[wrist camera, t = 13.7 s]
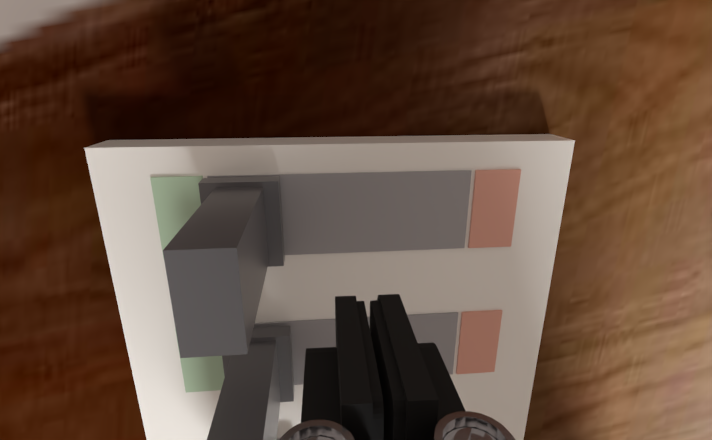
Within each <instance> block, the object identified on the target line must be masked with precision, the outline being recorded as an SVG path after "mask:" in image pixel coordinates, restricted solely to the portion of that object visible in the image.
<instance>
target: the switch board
mask: <svg viewBox="0 0 712 440" xmlns="http://www.w3.org/2000/svg"><path fill="white" fill-rule="evenodd" d="M574 143H575V140H571V139H568V138H564V137H560V136H556V135H552V134H509V135H436V136H364V137H291V138H218V139H145V140H106V141H103V142H101V143H98V144H95V145H92V146H89V147H86V148H84V149H85V153H86V158H87V163H88V167H89V172H90V177H91V181H92V186H93V191H94V195H95V200H96V205H97V209H98V214H99V219H100V223H101V228H102V233H103V238H104V242H105V247H106V252H107V256H108V261H109V266H110V270H111V275H112V280H113V284H114V289H115V294H116V298H117V303H118V308H119V312H120V317H121V322H122V326H123V331H124V336H125V341H126V345H127V350H128V355H129V359H130V364H131V369H132V373H133V378H134V383H135V387H136V392H137V397H138V401H139V406H140V411H141V415H142V420H143V425H144V430H145V434H146V439H147V440H207V437H208V434H209V430H210V427H211V423H212V420H213V416H214V413H215V409H216V406H217V402H218V399H219V395H220V392H221V388H222V385H223V381H224V378H225V376H224V368H223V360H222V356H208V357H192V358H180V352H179V346H178V340H177V334H176V328H175V322H174V316H173V310H172V304H171V298H170V292H169V286H168V280H167V274H166V268H165V262H164V256H163V250H164V248H165V247H166V246H167V245H168V244H169V242H170V241H171V240H172V239H173V238H174V236H175V235H176V234H177V233H178V232H179V230H180V229H181V228H182V227H183V226H184V224H185V223H186V222H187V221H188V220H189V218H190V217H191V216H192V215H193V214H194V212H195V211H196V210H197V209H198V208H199V206H200V205H201V201H200V193H199V185H198V183H199V182H200V181H201V180H202V179H203V178H231V177H276V176H280V186H281V203H282V219H283V235H284V252H285V261H284V266H272V267H267V272H266V276H265V280H264V285H263V289H262V293H261V298H260V302H259V306H258V311H257V315H256V320H255V324H254V328H257V327H275V326H291V340H292V357H293V374H294V401H291V402H280V410H279V420H278V430H277V440H280V438H281V437H282V436H283V435H284V434H285V433H286V432H287V431H288V430H289V429H291V428H292V427H294V426H296V425H297V424H299V423H301V412H302V397H303V382H304V367H305V353H306V348H324V347H336V327H335V296H356V300H357V301H364V303H365V308H366V313H367V318H368V323H369V328H370V301H373V300H377V297H378V295H386V294H399V295H400V297H401V300H402V303H403V305H404V308H405V311H406V313H407V316H408V319H409V321H410V324H411V327H412V329H413V332H414V335H415V337H416V340H417V343H435V344H436V346H437V348H438V350H439V352H440V354H441V357H442V359H443V361H444V363H445V366H446V368H447V370H448V372H449V375H450V377H451V379H452V381H453V384H454V386H455V388H456V390H457V393H458V395H459V397H460V399H461V402H462V404H463V406H464V408H465V411H471V412H477V413H481V414H484V415H486V416H489V417H491V418H493V419H495V420H496V421H498V422H499V423H501V424H502V425H503V426H504V427H505V428H506V429H507V430H508V431H509V432H510V433H511V434H512V436H513V437H514V438H515V440H524V434H525V428H526V422H527V416H528V411H529V405H530V399H531V393H532V387H533V382H534V376H535V370H536V364H537V358H538V352H539V347H540V341H541V335H542V329H543V323H544V318H545V312H546V306H547V300H548V294H549V288H550V283H551V277H552V271H553V265H554V259H555V254H556V248H557V242H558V236H559V230H560V225H561V219H562V213H563V207H564V201H565V195H566V190H567V184H568V178H569V172H570V166H571V161H572V155H573V149H574Z"/></svg>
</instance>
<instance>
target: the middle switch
mask: <svg viewBox="0 0 712 440" xmlns="http://www.w3.org/2000/svg"><path fill="white" fill-rule="evenodd" d="M222 360H223V368H224V376H225V378H224V381H223V385H222V388H221V392H220V395H219V399H218V402H217V406H216V409H215V413H214V416H213V420H212V423H211V427H210V430H209V434H208V437H207V440H277V430H278V420H279V410H280V402H291V401H294V374H293V357H292V340H291V326H275V327H257V328H253V333H252V337H251V341H250V346H249V350H248V354H242V355H225V356H222Z"/></svg>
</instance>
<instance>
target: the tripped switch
mask: <svg viewBox="0 0 712 440" xmlns="http://www.w3.org/2000/svg"><path fill="white" fill-rule="evenodd" d="M198 185H199V193H200V201H201V205H200V206H199V208H198V209H197V210H196V211H195V212H194V214H193V215H192V216H191V217H190V218H189V220H188V221H187V222H186V223H185V224H184V226H183V227H182V228H181V229H180V230H179V232H178V233H177V234H176V235H175V236H174V238H173V239H172V240H171V241H170V242H169V244H168V245H167V246H166V247H165V248H164V250H163V256H164V262H165V268H166V274H167V280H168V286H169V292H170V298H171V304H172V310H173V316H174V322H175V328H176V334H177V340H178V346H179V352H180V358H192V357H208V356H225V355H242V354H248V350H249V346H250V341H251V337H252V333H253V328H254V324H255V320H256V315H257V311H258V306H259V302H260V298H261V293H262V289H263V285H264V280H265V276H266V272H267V267H272V266H284V261H285V252H284V235H283V219H282V203H281V186H280V176H276V177H231V178H203V179H202V180H201V181H200V182H199V183H198Z"/></svg>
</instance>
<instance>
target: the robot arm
mask: <svg viewBox="0 0 712 440" xmlns="http://www.w3.org/2000/svg"><path fill="white" fill-rule="evenodd" d="M335 327H336V347H324V348H306V353H305V367H304V382H303V397H302V412H301V423H299V424H297V425H296V426H294V427H292V428H291V429H289V430H288V431H287V432H286V433H285V434H284V435H283V436H282V437H281V438H280V440H515V438H514V437H513V436H512V434H511V433H510V432H509V431H508V430H507V429H506V428H505V427H504V426H503V425H502V424H501V423H499V422H498V421H496V420H495V419H493V418H491V417H489V416H486V415H484V414H481V413H477V412H471V411H465V408H464V406H463V404H462V402H461V399H460V397H459V395H458V393H457V390H456V388H455V386H454V384H453V381H452V379H451V377H450V375H449V372H448V370H447V368H446V366H445V363H444V361H443V359H442V357H441V354H440V352H439V350H438V348H437V346H436V344H435V343H417V340H416V337H415V335H414V332H413V329H412V327H411V324H410V321H409V319H408V316H407V313H406V311H405V308H404V305H403V303H402V300H401V297H400V295H399V294H386V295H378V297H377V300H373V301H370V328H369V323H368V318H367V313H366V308H365V303H364V301H357V300H356V296H335Z"/></svg>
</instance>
